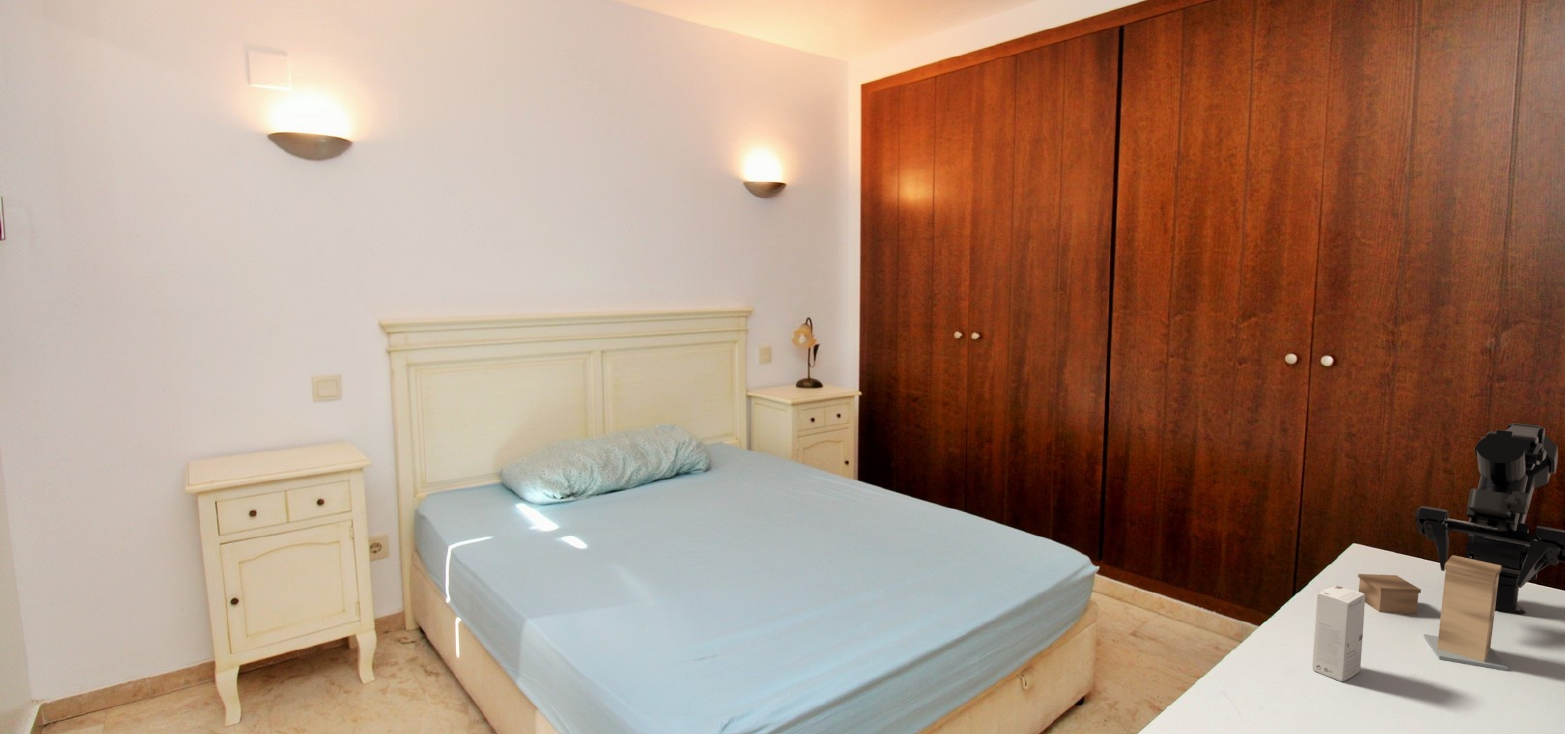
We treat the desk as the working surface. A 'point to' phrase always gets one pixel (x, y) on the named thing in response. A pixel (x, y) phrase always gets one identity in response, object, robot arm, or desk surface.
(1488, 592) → the oak tea canister
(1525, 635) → the desk surface
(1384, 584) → the walnut trinket box
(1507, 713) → the desk surface
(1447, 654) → the coaster
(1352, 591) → the skincare box
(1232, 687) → the desk surface
